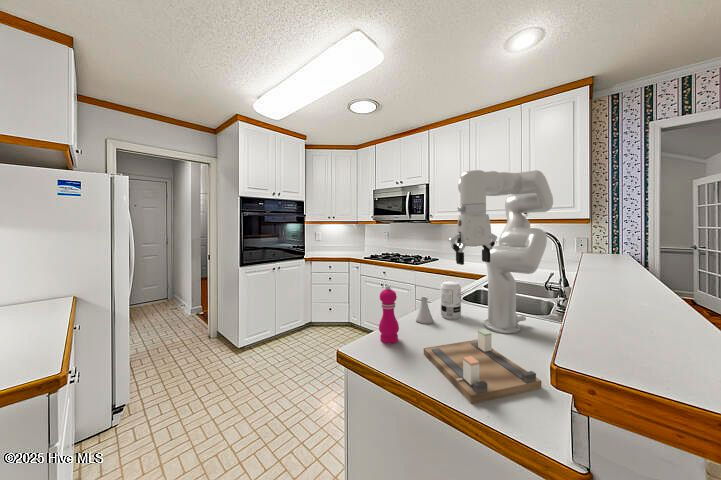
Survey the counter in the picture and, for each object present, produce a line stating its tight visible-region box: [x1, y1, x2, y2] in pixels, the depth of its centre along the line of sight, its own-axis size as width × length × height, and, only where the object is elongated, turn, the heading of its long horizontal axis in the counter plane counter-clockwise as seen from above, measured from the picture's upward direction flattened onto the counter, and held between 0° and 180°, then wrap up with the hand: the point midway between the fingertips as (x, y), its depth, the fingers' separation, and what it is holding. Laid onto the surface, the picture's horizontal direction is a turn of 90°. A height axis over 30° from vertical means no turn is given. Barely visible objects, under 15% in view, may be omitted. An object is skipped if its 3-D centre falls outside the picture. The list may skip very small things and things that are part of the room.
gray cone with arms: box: [415, 296, 434, 325], centre depth 113 cm, size 7×7×10 cm
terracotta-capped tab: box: [463, 356, 479, 385], centre depth 67 cm, size 3×2×5 cm
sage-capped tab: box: [477, 328, 492, 352], centre depth 83 cm, size 3×2×5 cm
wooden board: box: [423, 339, 542, 404], centre depth 76 cm, size 24×20×4 cm
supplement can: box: [440, 280, 462, 320], centre depth 117 cm, size 8×8×15 cm
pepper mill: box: [378, 284, 400, 345], centre depth 96 cm, size 7×7×20 cm
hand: (473, 263), depth 88 cm, fingers open, 9 cm apart
